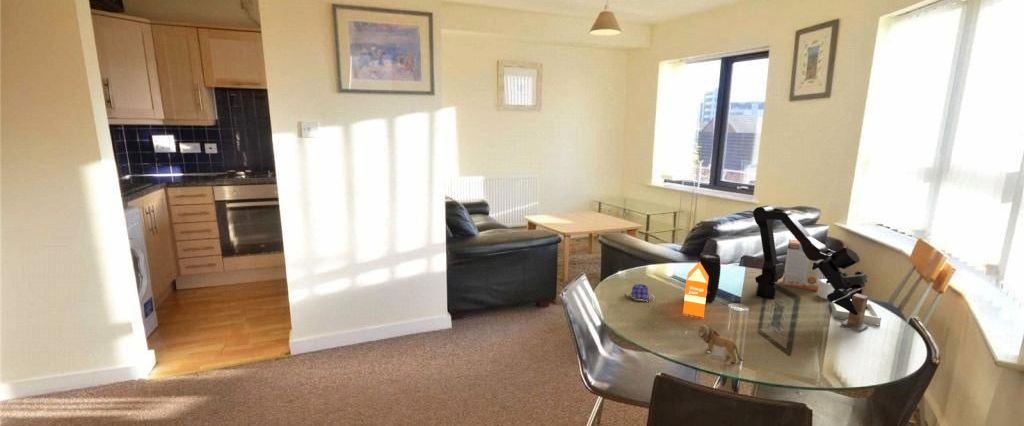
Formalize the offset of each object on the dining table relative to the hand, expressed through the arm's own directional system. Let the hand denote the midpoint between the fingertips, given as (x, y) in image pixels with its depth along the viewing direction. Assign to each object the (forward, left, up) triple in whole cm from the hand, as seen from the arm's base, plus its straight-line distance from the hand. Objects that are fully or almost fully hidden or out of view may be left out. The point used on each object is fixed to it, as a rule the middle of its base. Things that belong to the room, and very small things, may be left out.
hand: (861, 311), depth 168 cm
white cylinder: (-6, +30, -7) cm, 31 cm away
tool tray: (+1, +14, -7) cm, 15 cm away
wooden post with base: (-1, +1, -7) cm, 7 cm away
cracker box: (-15, +38, -7) cm, 41 cm away
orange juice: (-56, -14, -7) cm, 58 cm away
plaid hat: (-78, -9, -7) cm, 79 cm away
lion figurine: (-46, -45, -7) cm, 65 cm away
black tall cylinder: (-53, +2, -7) cm, 54 cm away
